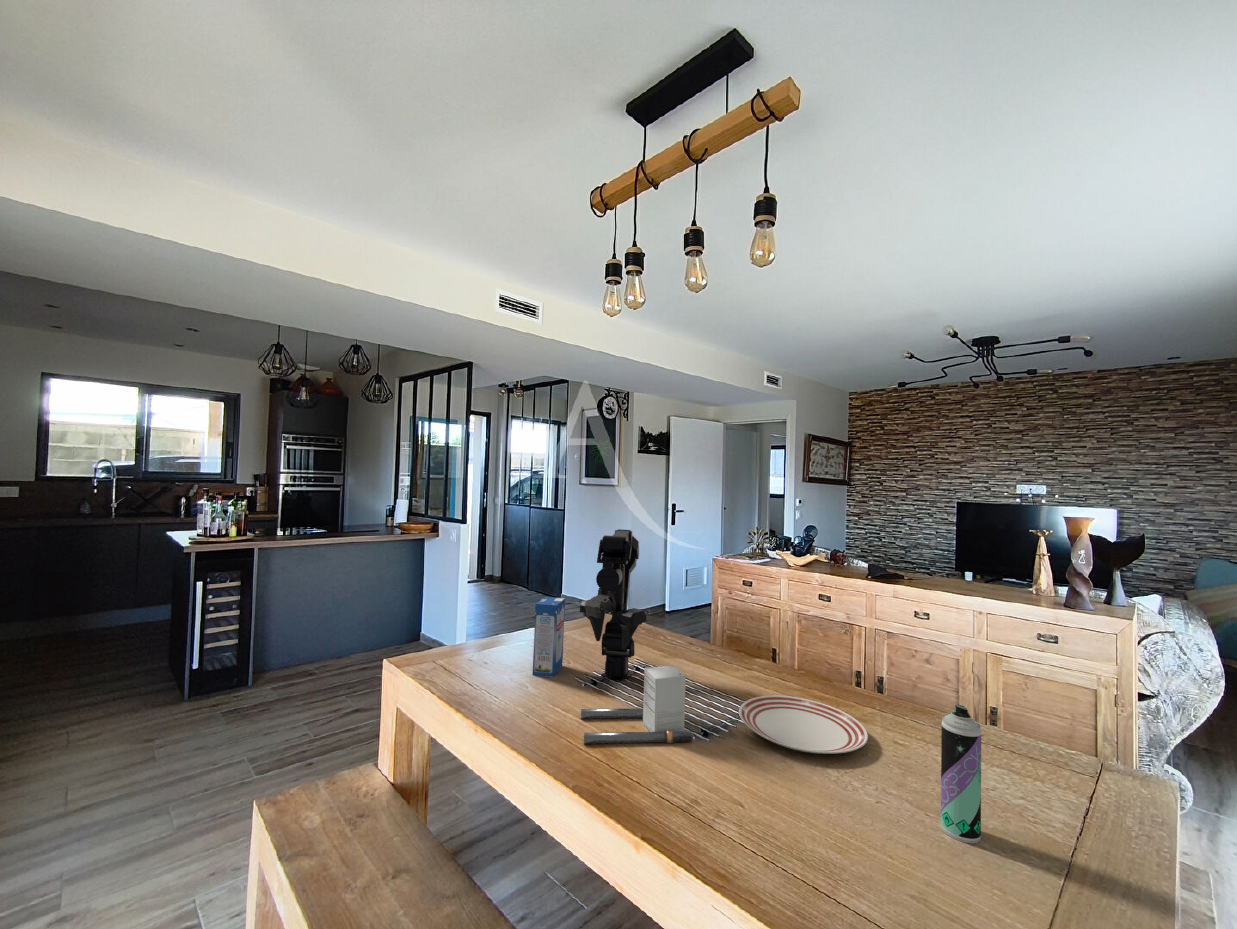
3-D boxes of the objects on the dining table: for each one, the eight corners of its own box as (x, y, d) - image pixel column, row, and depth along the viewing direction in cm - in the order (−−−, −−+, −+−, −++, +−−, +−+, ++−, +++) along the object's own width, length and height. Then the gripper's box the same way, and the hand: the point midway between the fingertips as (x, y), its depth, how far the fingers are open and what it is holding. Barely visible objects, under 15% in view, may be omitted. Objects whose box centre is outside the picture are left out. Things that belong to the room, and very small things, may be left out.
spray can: (932, 821, 88) (934, 699, 89) (963, 821, 89) (964, 699, 90) (956, 843, 83) (957, 713, 84) (989, 843, 83) (990, 713, 84)
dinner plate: (884, 735, 120) (885, 720, 120) (839, 781, 100) (839, 763, 100) (772, 699, 139) (772, 686, 139) (715, 731, 119) (715, 716, 119)
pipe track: (583, 747, 110) (584, 734, 110) (580, 717, 124) (581, 705, 124) (692, 745, 112) (692, 732, 112) (676, 715, 127) (676, 704, 127)
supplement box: (671, 719, 124) (673, 664, 124) (684, 733, 117) (686, 675, 117) (641, 722, 121) (643, 666, 122) (653, 737, 114) (655, 678, 115)
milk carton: (542, 663, 159) (545, 596, 160) (562, 665, 158) (565, 598, 159) (532, 675, 149) (535, 603, 150) (553, 677, 148) (556, 605, 149)
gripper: (566, 582, 138) (563, 643, 137) (620, 593, 126) (617, 660, 125) (595, 577, 146) (593, 635, 146) (648, 588, 134) (646, 650, 133)
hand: (611, 644), depth 137 cm, fingers open, 9 cm apart
